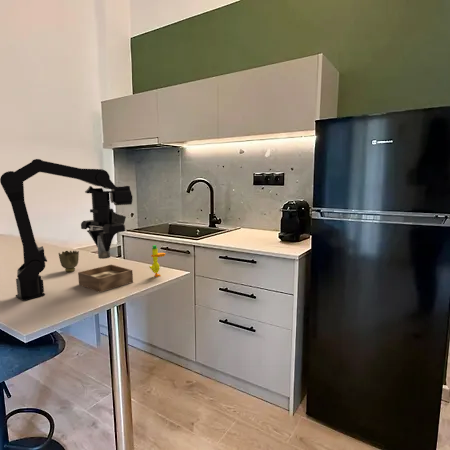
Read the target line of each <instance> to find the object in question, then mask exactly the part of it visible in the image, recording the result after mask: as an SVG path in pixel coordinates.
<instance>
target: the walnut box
mask: <svg viewBox="0 0 450 450" xmlns="http://www.w3.org/2000/svg"><path fill="white" fill-rule="evenodd" d="M77 276H78V285H79V286H81V287H84V288H88V289H89V290H93V291H95V292H98V293H102V292H105V291H108V290H111V289H115V288H118V287H122V286H126V285H129V284H131V283H132V284H133V283H134V277H133V269H130V268H127V267H126V268H125V267H122V266H120V265H119V266H118V265H115V264H108V265H102V266H100V267H99V266H98V267H96V268H95V267H94V268H90V269H87V270H82V271H79V272H77Z"/></svg>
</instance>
